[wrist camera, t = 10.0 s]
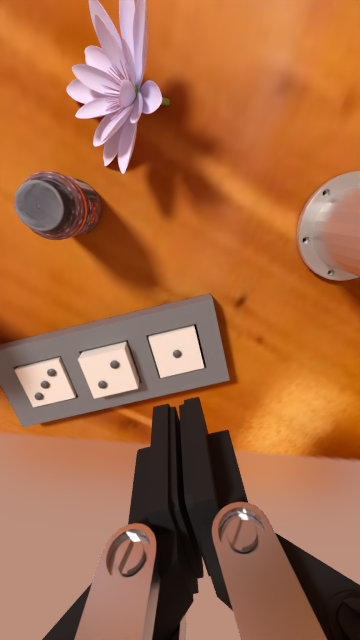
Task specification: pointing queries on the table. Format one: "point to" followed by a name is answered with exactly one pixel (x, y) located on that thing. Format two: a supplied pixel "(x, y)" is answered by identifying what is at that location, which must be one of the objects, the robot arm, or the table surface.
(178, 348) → the tile
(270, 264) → the table surface
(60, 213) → the supplement bottle
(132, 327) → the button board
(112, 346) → the tile
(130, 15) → the water lily
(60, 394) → the tile
